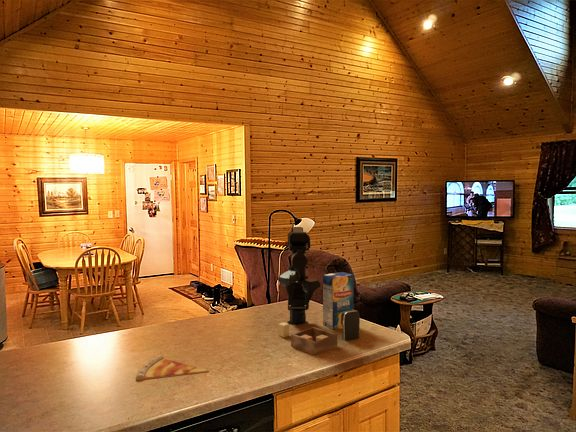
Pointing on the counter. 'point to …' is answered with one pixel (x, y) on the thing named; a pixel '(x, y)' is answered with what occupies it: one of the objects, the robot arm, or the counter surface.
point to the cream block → (320, 337)
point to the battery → (350, 324)
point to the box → (314, 341)
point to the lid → (283, 329)
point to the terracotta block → (307, 337)
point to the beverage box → (337, 298)
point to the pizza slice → (165, 369)
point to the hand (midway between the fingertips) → (298, 302)
